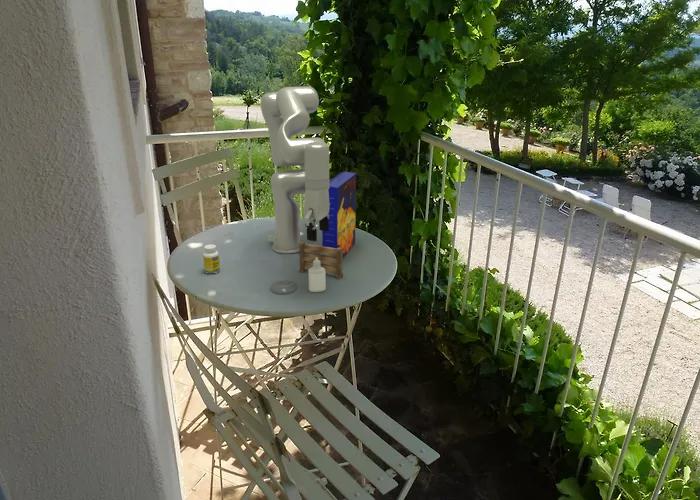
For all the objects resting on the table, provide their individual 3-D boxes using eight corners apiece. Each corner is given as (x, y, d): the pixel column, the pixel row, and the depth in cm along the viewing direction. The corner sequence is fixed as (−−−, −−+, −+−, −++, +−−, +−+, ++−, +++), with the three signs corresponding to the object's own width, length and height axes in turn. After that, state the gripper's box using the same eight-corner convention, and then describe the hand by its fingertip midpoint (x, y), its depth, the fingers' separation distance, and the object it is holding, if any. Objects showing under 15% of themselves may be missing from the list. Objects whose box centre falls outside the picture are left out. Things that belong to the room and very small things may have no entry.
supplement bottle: (215, 275, 177) (212, 250, 174) (201, 273, 179) (198, 248, 175) (223, 269, 182) (220, 244, 178) (210, 267, 184) (207, 242, 180)
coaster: (265, 291, 167) (265, 289, 166) (278, 280, 174) (278, 278, 174) (289, 296, 164) (289, 294, 163) (301, 284, 171) (301, 283, 171)
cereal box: (337, 265, 187) (337, 187, 175) (322, 262, 188) (321, 185, 177) (355, 244, 206) (356, 172, 194) (341, 242, 208) (341, 171, 196)
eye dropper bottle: (322, 294, 165) (322, 261, 161) (306, 291, 167) (306, 258, 162) (327, 288, 169) (327, 256, 164) (312, 286, 171) (311, 253, 166)
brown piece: (299, 271, 181) (298, 243, 177) (302, 268, 184) (302, 240, 179) (340, 279, 176) (340, 250, 171) (343, 275, 178) (343, 247, 174)
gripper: (317, 175, 163) (318, 225, 169) (293, 189, 148) (295, 243, 154) (338, 178, 160) (339, 228, 167) (317, 191, 145) (318, 246, 152)
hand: (318, 235), depth 161 cm, fingers open, 9 cm apart
